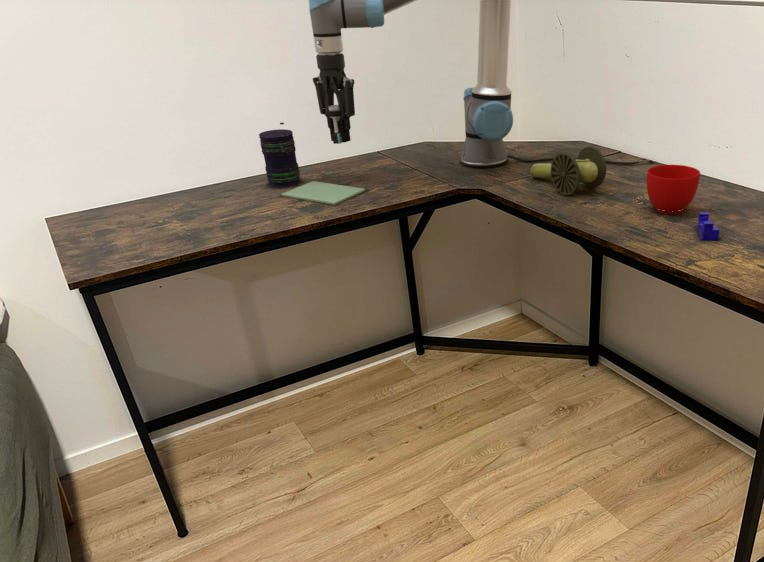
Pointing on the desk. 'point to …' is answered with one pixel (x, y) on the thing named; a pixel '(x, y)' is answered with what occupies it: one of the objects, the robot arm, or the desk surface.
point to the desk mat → (323, 192)
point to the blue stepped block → (707, 227)
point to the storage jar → (280, 158)
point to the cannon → (573, 170)
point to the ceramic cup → (672, 187)
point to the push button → (335, 123)
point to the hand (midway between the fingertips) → (340, 140)
